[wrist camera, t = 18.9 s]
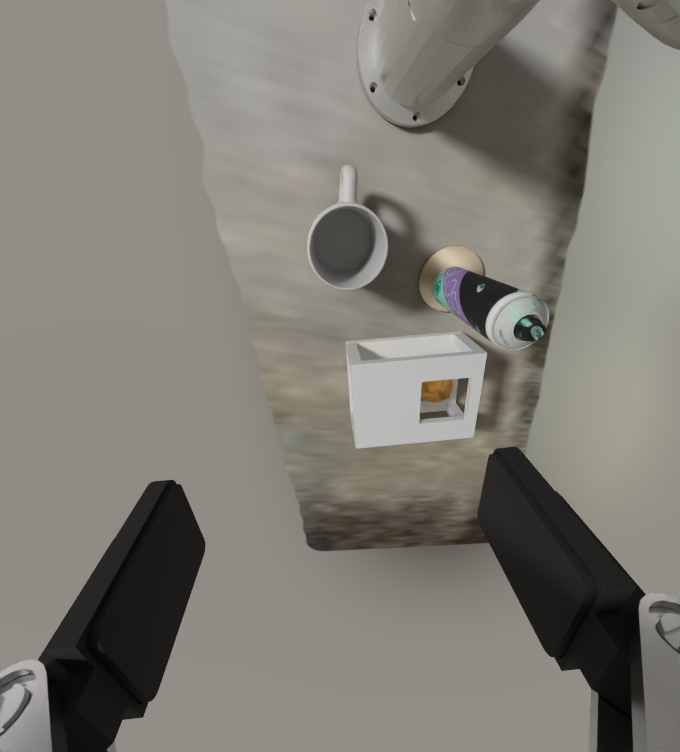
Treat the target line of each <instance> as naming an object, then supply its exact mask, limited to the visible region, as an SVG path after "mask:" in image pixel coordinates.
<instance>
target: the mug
mask: <svg viewBox="0 0 680 752" xmlns="http://www.w3.org/2000/svg"><path fill="white" fill-rule="evenodd" d="M307 254H308V259H309V262H310V265H311V267H312V269H313V271H314V272H315V274H316V275H317V276H318V278H319V279H321V280H322V281H323V282H324V283H325V284H327V285H329V286H330V287H333V288H335V289H339V290H356V289H359V288H362V287H364V286H366V285H367V284H369V283H370V282H372V281H373V280H374V279H375V278H376V277H377V276H378V275H379V273H380V272H381V270H382V269H383V267H384V265H385V262H386V259H387V255H388V237H387V233H386V230H385V227H384V225H383V223H382V222H381V220H380V219H379V218H378V216H377V215H376V214H375V213H374V212H373V211H371V210H370V209H368V208H367V207H365V206H363V205H361V204H359V203H357V169H356V168H355V167H354V166H353V165H345V166H343V168H342V170H341V175H340V190H339V202H338V203H337V204H334V205H332V206H330V207H328V208H326V209H325V210H323V211H322V212H321V213H320V214H319V215H318V216H317V217H316V219H315V220H314V222H313V224H312V226H311V229H310V232H309V235H308V240H307Z"/></svg>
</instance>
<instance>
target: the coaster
mask: <svg viewBox="0 0 680 752" xmlns="http://www.w3.org/2000/svg"><path fill="white" fill-rule="evenodd" d="M452 266H456V267H461V268H463V269H466V270H469V271H471V272H474V273H477V274H479V275H482V276H483V266H482V263H481V260H480V259H479V257H478V256H477V254H476V253H475V252H473V251H472V250H470V249H468V248H466V247H462V246H449V247H445V248H443V249H441V250H439V251H437V252H436V253H434V254H433V255H432V256H431V257H430V258H429V259H428V260H427V262H426V263H425V265H424V266H423V268H422V271H421V273H420V278H419V290H420V294H421V296H422V298H423V300H424V301H425V302H426V303H427V304H428V305H429V306H430V307H432V308H433V309H436V310H438V311H444V312H449V310H448V309H446V308H445V307H444V306H442V305H441V304H440V303H438V302H437V301H436V300H435V298H434V297H433V294H432V284H433V281H434V279H435V277H436V276H437V274H438V273H439V272H441V271H442V270H443V269H445V268H447V267H452Z"/></svg>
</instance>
